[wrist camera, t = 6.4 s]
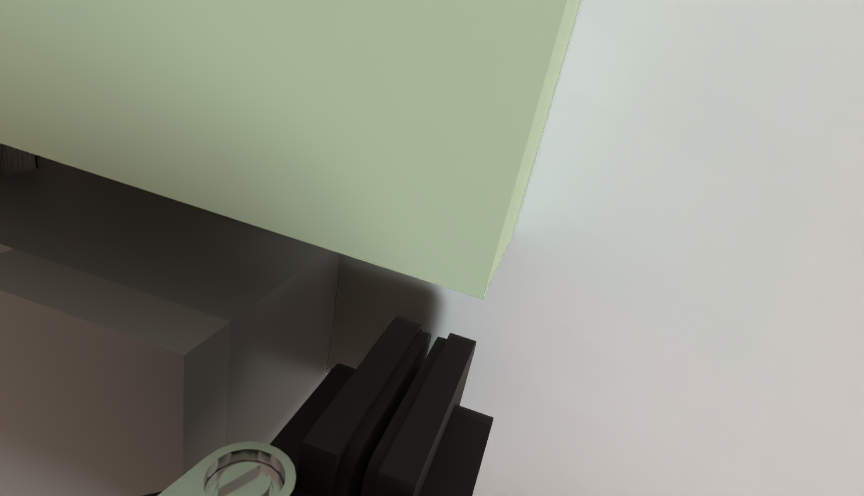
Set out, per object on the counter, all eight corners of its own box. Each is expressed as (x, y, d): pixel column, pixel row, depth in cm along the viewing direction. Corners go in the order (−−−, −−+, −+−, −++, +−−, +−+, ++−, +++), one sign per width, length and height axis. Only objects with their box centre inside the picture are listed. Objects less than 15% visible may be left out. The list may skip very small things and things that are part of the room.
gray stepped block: (76, 159, 13) (-202, 218, 8) (344, 237, 12) (183, 355, 7) (89, 336, 15) (-134, 461, 10) (321, 421, 14) (182, 606, 9)
